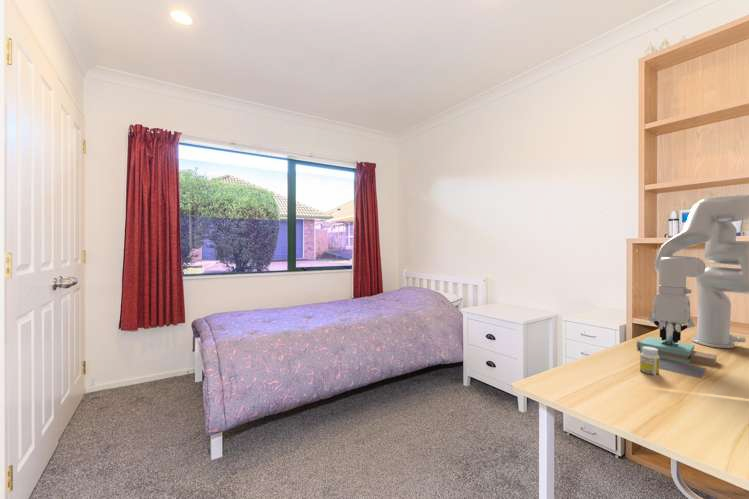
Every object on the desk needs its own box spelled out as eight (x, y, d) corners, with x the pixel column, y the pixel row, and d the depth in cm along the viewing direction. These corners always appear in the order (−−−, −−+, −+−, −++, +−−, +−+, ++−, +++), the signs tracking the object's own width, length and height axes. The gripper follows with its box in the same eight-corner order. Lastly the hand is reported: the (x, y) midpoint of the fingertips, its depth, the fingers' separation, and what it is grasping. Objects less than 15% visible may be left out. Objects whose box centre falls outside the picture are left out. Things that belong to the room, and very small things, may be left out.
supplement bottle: (652, 371, 112) (653, 346, 112) (662, 377, 107) (663, 351, 107) (636, 370, 112) (637, 345, 112) (646, 376, 108) (647, 350, 107)
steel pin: (672, 346, 127) (673, 320, 126) (676, 349, 124) (677, 322, 123) (662, 346, 128) (663, 319, 127) (666, 348, 125) (667, 321, 124)
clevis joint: (717, 361, 121) (717, 349, 121) (713, 370, 113) (713, 356, 113) (641, 346, 137) (641, 335, 137) (633, 353, 129) (633, 341, 129)
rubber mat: (706, 370, 113) (706, 368, 113) (701, 380, 105) (701, 378, 105) (659, 360, 122) (659, 358, 122) (651, 368, 114) (651, 366, 114)
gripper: (704, 293, 121) (701, 344, 122) (646, 287, 134) (644, 334, 134) (701, 295, 116) (698, 348, 117) (641, 289, 129) (639, 337, 129)
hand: (669, 340), depth 126 cm, fingers closed on steel pin, 3 cm apart
